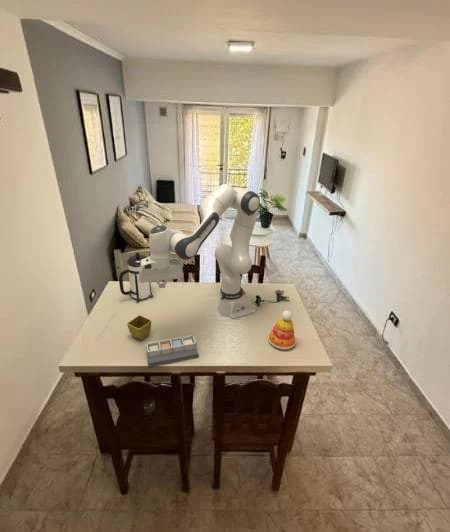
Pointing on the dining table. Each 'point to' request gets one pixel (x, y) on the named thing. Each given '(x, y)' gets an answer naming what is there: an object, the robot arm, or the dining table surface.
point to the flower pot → (139, 327)
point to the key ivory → (188, 341)
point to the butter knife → (101, 334)
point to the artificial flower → (278, 293)
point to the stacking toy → (283, 332)
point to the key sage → (153, 347)
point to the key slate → (176, 342)
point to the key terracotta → (165, 345)
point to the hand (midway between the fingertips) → (162, 287)
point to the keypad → (171, 351)
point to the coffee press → (135, 279)
